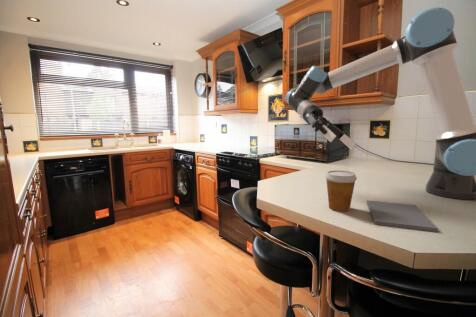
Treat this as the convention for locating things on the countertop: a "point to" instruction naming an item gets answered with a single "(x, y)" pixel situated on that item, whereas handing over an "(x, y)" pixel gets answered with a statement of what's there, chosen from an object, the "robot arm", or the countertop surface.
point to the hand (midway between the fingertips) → (344, 143)
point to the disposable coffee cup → (340, 189)
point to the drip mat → (399, 216)
